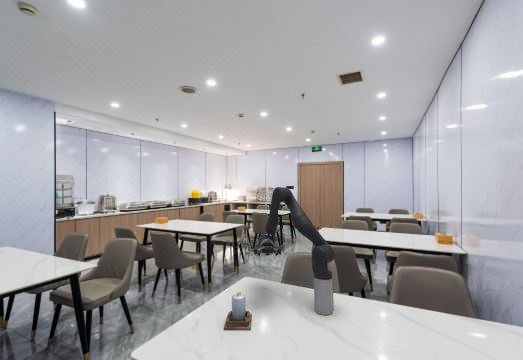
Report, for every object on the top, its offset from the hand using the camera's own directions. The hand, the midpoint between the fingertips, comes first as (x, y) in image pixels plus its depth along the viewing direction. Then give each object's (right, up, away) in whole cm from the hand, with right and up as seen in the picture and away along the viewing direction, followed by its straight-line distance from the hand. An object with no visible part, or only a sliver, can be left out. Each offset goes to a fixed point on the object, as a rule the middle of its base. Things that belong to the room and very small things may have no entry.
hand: (267, 254), depth 123 cm
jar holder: (-14, -30, -8) cm, 34 cm away
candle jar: (-14, -29, -8) cm, 33 cm away
